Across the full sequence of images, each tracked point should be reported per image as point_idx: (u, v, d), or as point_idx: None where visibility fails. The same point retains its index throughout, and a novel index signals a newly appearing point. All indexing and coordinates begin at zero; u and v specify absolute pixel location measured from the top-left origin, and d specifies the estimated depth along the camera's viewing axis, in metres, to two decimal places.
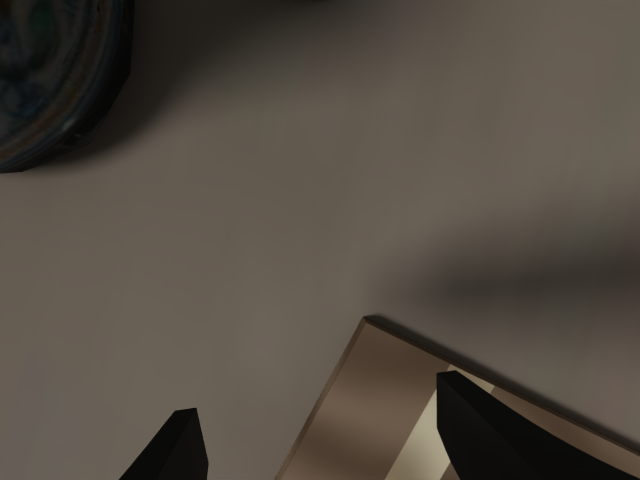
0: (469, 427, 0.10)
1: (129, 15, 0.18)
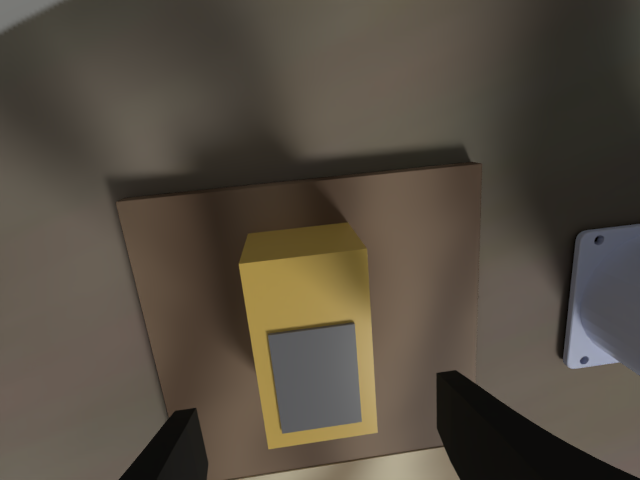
0: (469, 427, 0.10)
1: None
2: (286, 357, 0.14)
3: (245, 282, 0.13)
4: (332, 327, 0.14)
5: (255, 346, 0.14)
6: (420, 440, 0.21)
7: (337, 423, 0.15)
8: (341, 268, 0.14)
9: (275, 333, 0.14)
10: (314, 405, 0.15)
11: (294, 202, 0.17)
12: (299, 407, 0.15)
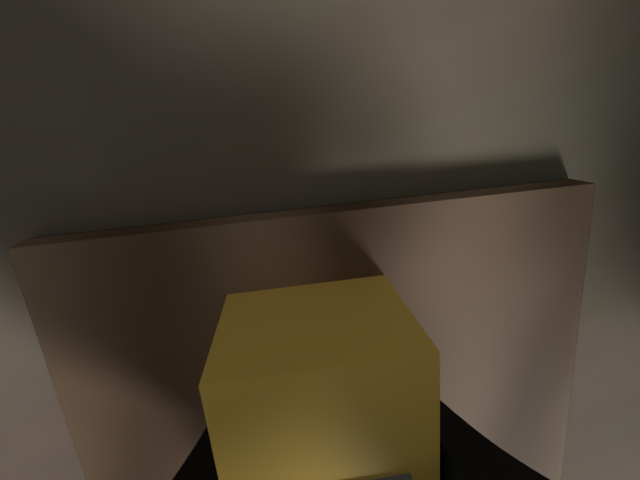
0: None
1: None
2: None
3: (212, 416, 0.07)
4: None
5: None
6: None
7: None
8: (392, 387, 0.07)
9: None
10: None
11: (300, 245, 0.11)
12: None
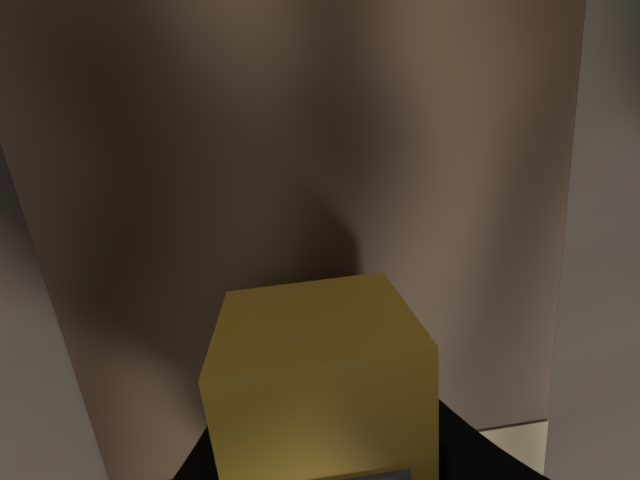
0: None
1: None
2: None
3: (212, 411, 0.07)
4: None
5: None
6: (469, 418, 0.14)
7: None
8: (391, 382, 0.07)
9: None
10: None
11: None
12: None
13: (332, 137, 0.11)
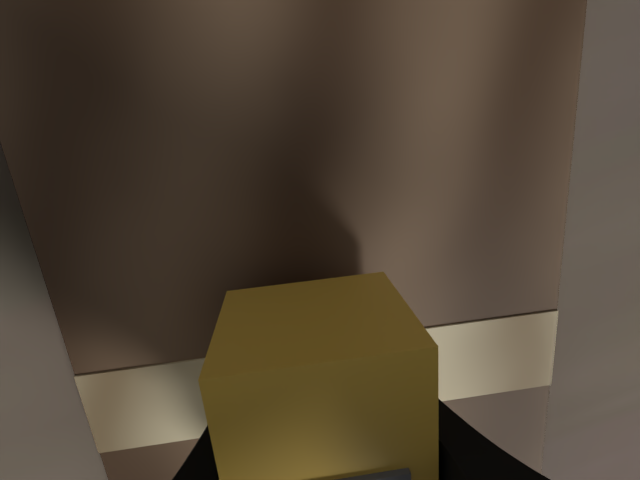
0: None
1: None
2: None
3: (212, 410, 0.07)
4: (370, 479, 0.08)
5: None
6: (471, 304, 0.13)
7: None
8: (391, 381, 0.07)
9: None
10: None
11: None
12: None
13: None
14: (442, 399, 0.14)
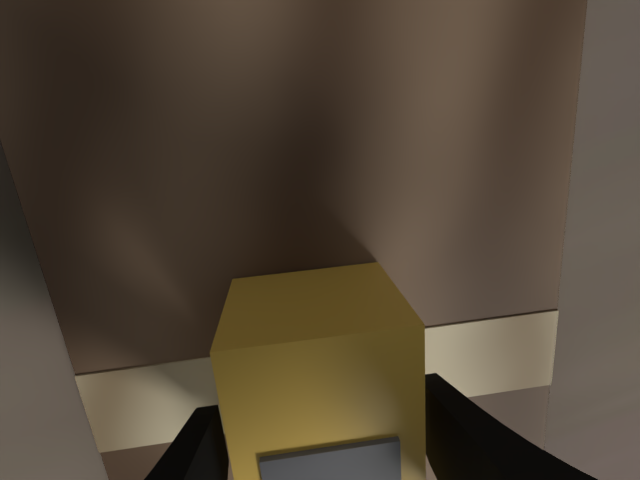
0: (445, 431, 0.10)
1: None
2: None
3: (221, 381, 0.08)
4: (364, 446, 0.09)
5: (239, 476, 0.09)
6: (471, 304, 0.13)
7: None
8: (382, 356, 0.08)
9: (272, 456, 0.09)
10: None
11: None
12: None
13: None
14: None
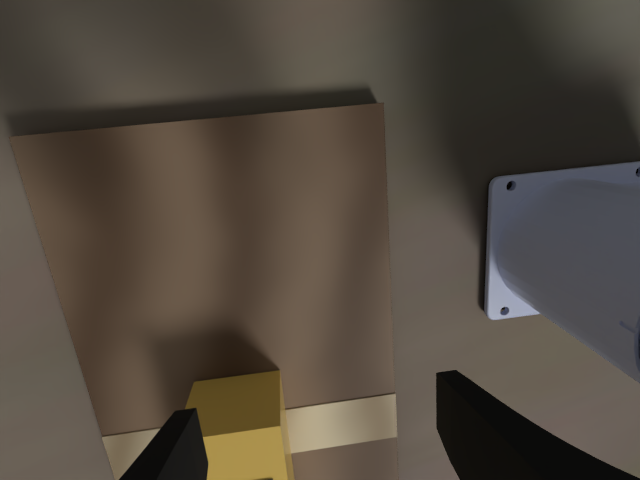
0: (468, 427, 0.10)
1: None
2: None
3: None
4: None
5: None
6: (340, 391, 0.21)
7: None
8: (260, 441, 0.17)
9: None
10: None
11: (193, 140, 0.17)
12: None
13: (234, 216, 0.18)
14: (327, 446, 0.22)
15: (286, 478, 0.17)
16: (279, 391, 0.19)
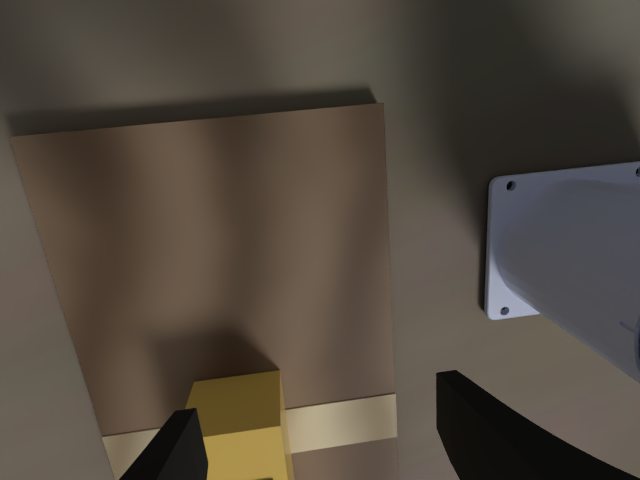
0: (468, 427, 0.10)
1: None
2: None
3: None
4: None
5: None
6: (340, 391, 0.21)
7: None
8: (260, 441, 0.17)
9: None
10: None
11: (193, 140, 0.17)
12: None
13: (235, 216, 0.18)
14: (327, 446, 0.22)
15: (286, 478, 0.17)
16: (279, 391, 0.19)
